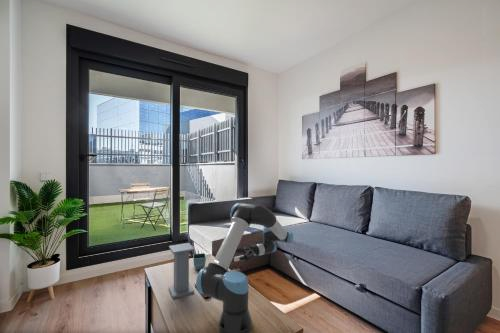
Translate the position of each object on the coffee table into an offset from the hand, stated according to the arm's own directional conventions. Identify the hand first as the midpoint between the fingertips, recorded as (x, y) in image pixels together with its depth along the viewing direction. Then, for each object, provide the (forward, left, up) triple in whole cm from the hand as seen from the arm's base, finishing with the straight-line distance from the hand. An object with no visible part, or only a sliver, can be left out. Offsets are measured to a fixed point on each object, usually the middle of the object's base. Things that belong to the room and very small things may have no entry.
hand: (229, 255), depth 152 cm
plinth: (-21, +24, -15) cm, 35 cm away
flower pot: (+11, +26, -15) cm, 32 cm away
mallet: (-3, +3, -15) cm, 16 cm away
